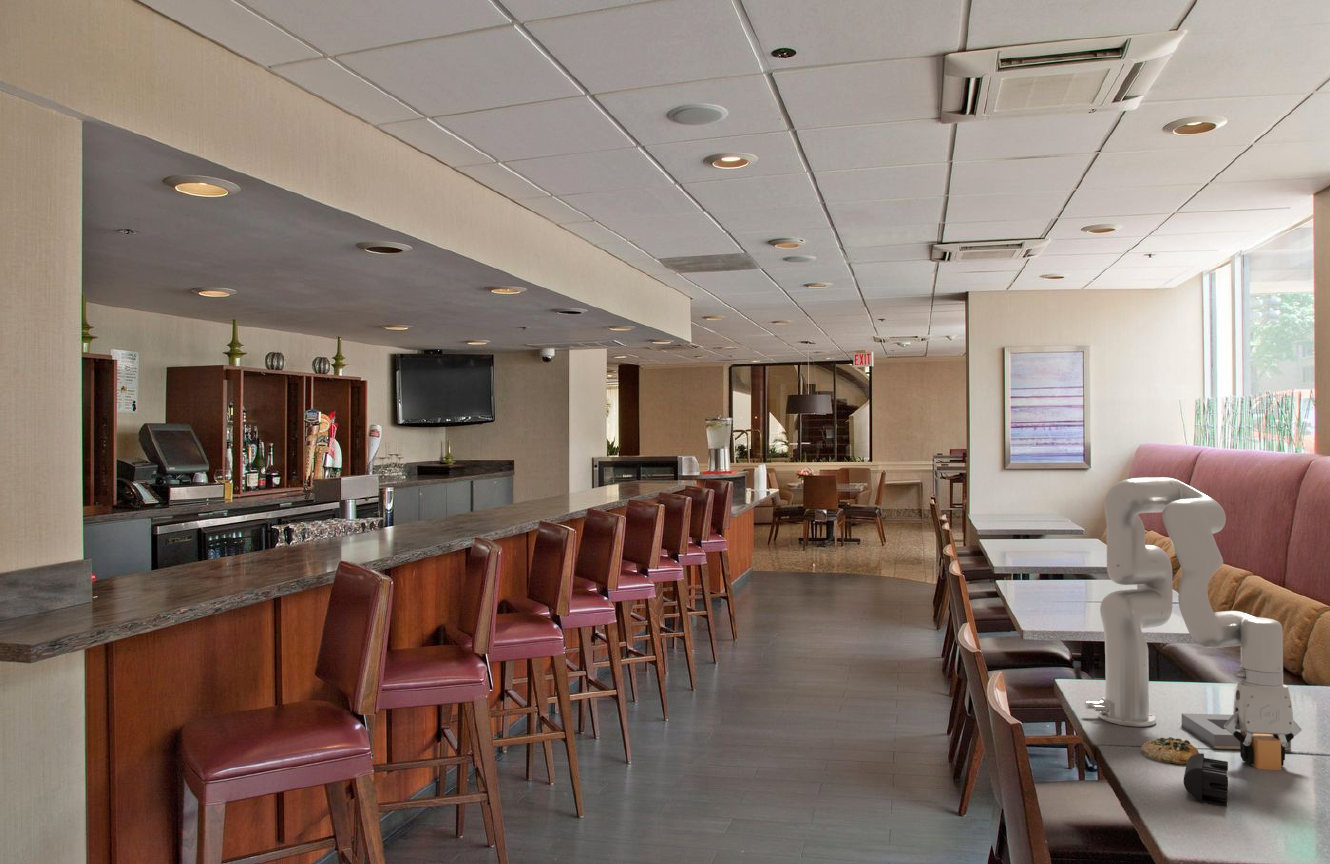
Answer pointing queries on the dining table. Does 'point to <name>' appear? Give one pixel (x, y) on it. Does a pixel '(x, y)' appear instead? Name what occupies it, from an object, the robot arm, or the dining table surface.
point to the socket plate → (1213, 730)
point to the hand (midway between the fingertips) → (1262, 762)
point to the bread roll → (1169, 750)
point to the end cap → (1207, 780)
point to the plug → (1266, 752)
